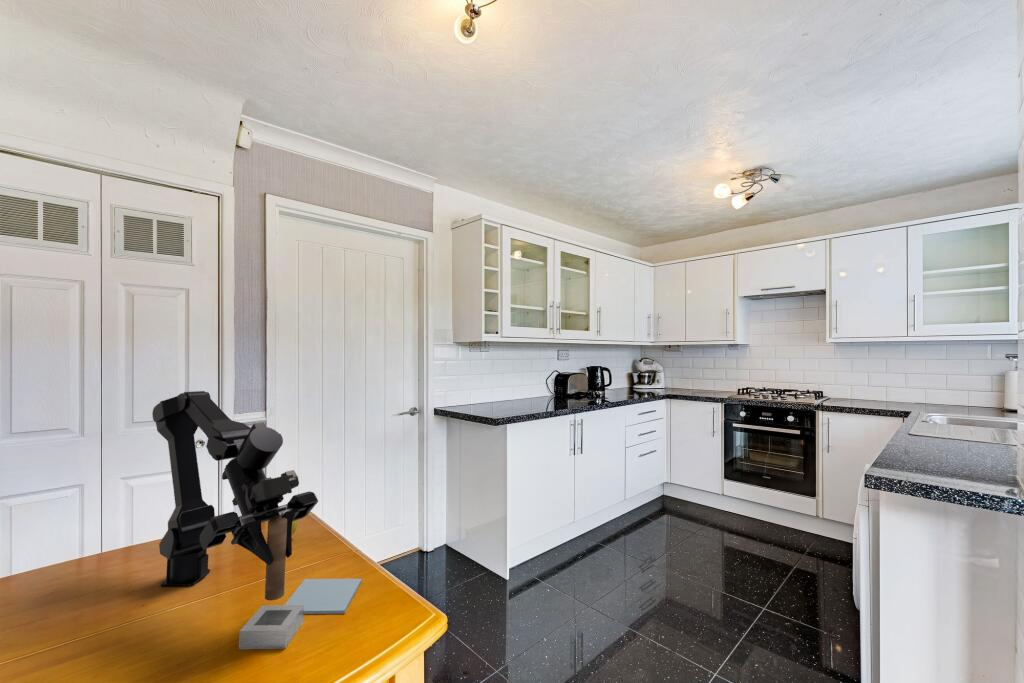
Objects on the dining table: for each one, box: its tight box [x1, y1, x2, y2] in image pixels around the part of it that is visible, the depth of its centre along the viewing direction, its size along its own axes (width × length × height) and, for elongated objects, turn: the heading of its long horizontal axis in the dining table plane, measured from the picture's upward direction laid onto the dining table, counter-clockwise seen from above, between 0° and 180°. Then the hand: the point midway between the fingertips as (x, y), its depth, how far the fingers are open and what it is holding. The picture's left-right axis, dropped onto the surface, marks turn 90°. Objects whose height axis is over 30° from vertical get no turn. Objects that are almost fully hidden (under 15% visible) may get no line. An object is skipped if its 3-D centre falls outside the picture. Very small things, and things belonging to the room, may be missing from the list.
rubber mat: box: [284, 578, 363, 615], centre depth 90 cm, size 12×12×1 cm
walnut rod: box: [264, 518, 287, 601], centre depth 78 cm, size 3×3×13 cm
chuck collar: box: [238, 604, 305, 650], centre depth 78 cm, size 8×8×3 cm
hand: (280, 559), depth 78 cm, fingers closed on walnut rod, 3 cm apart
